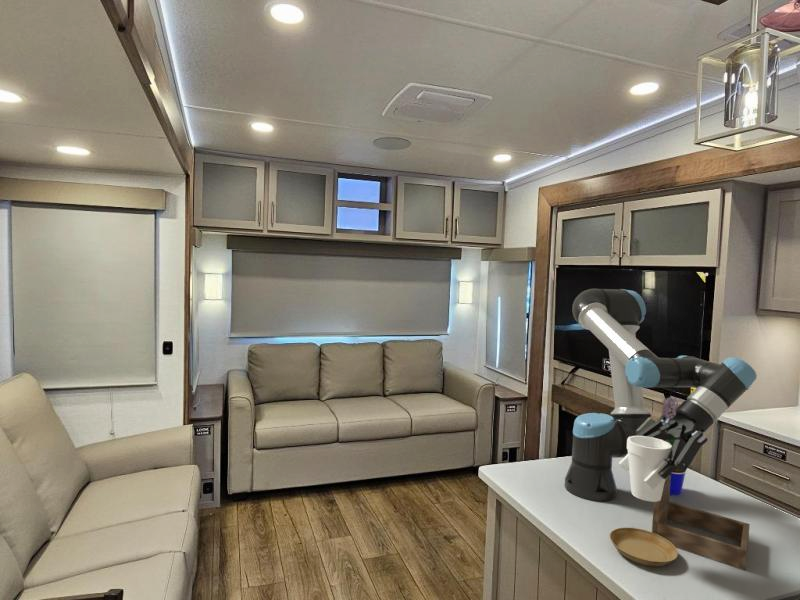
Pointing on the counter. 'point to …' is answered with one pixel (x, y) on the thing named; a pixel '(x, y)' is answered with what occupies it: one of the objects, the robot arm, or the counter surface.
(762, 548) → the counter surface
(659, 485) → the foam cup
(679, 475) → the hyacinth
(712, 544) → the cold frame
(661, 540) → the plant saucer
